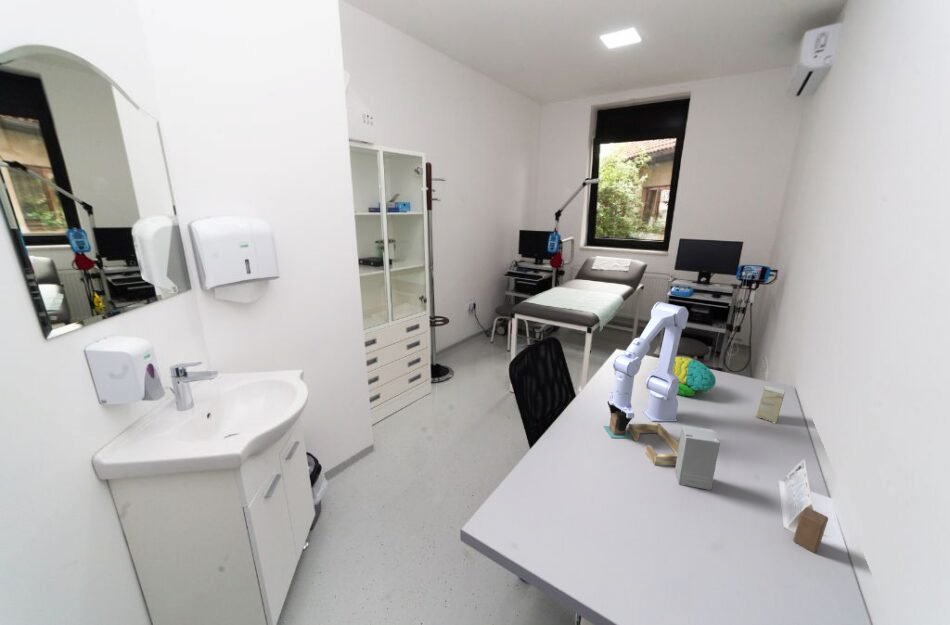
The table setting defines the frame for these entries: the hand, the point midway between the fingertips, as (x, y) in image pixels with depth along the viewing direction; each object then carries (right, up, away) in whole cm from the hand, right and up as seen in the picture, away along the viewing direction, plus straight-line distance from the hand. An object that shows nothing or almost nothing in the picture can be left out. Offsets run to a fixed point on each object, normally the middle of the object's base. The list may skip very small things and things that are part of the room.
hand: (618, 425), depth 127 cm
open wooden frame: (+10, -5, -7) cm, 13 cm away
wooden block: (+27, -14, -42) cm, 52 cm away
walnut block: (0, -2, +1) cm, 2 cm away
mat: (0, -2, +1) cm, 2 cm away
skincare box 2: (+61, -1, +12) cm, 63 cm away
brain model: (+41, +5, +34) cm, 54 cm away
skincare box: (+12, -9, -22) cm, 27 cm away
